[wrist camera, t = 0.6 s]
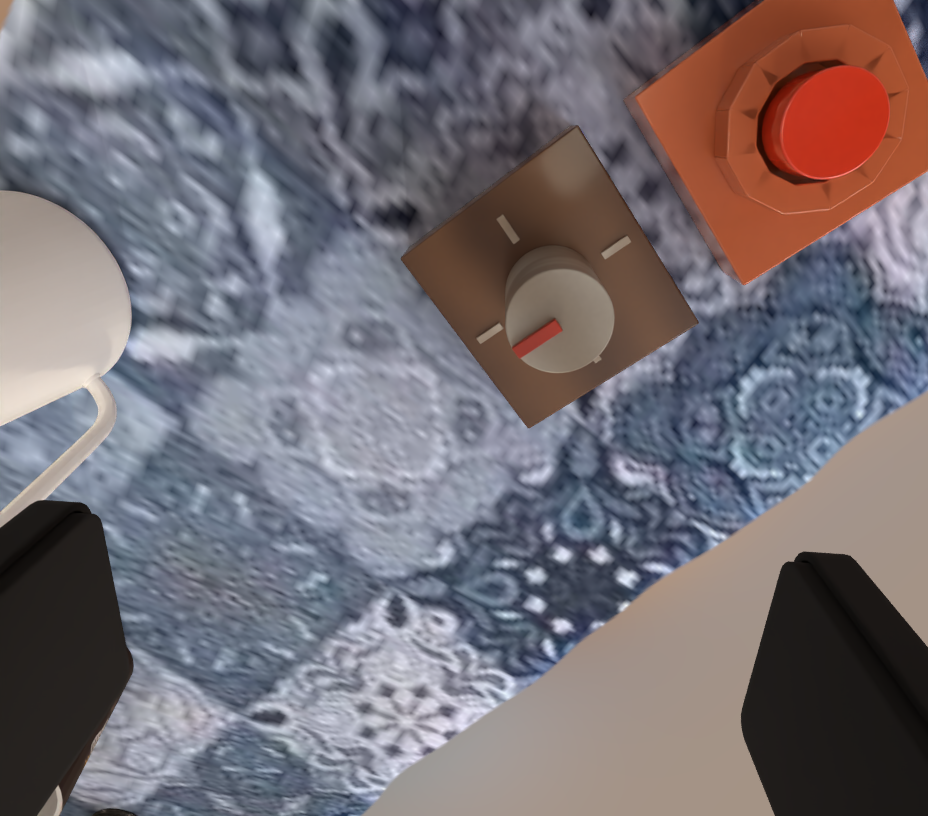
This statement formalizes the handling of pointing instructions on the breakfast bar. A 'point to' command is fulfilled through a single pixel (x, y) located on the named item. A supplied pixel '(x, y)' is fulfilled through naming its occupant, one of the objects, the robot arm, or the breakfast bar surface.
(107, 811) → the grey chess piece
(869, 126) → the red button
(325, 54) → the breakfast bar surface
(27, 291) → the coffeepot
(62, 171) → the breakfast bar surface
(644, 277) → the base
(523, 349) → the dial
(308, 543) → the breakfast bar surface
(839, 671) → the robot arm
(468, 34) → the breakfast bar surface
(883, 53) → the button base
